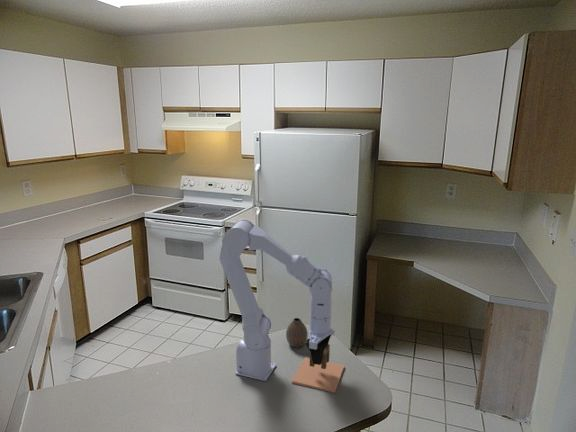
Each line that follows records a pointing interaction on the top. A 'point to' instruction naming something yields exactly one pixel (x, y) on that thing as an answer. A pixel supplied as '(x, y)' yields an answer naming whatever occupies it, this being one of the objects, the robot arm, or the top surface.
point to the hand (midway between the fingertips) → (319, 358)
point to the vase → (296, 333)
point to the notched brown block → (325, 357)
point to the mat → (319, 376)
